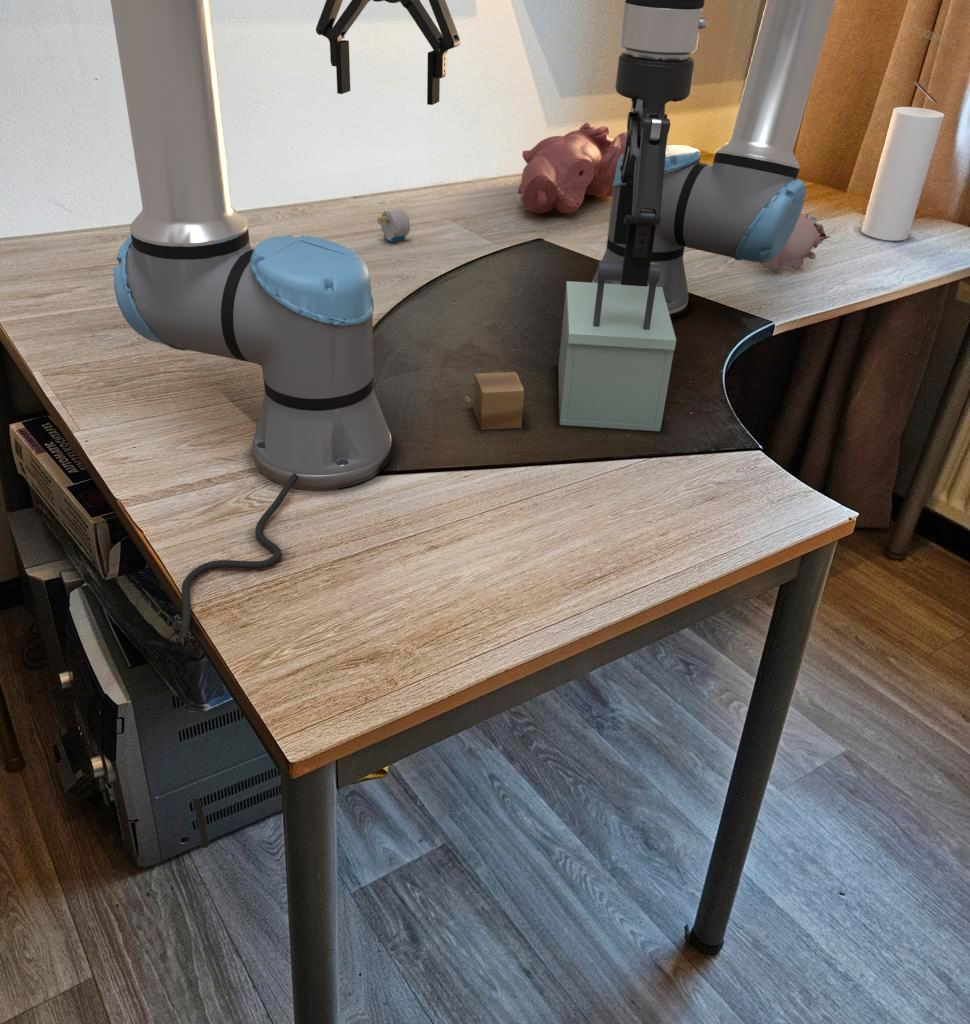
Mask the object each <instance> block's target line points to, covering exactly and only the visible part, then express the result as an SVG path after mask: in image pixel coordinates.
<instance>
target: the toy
mask: <svg viewBox="0 0 970 1024" xmlns="http://www.w3.org/2000/svg"><path fill="white" fill-rule="evenodd" d="M824 228H825V227H824V225H823V224H822V223H818V219H817V217H816V216H814V215H813V214H811V213H808V214H806V215H804V214H803V213H802V212H801V214H800V216H799V219H798V221H797V224H796V226H795V228H794V230H793V232H792V234H791V236H790V238H789V240H788V241H787V243H786V244H785V246H784V247H783V249H782V250H781V252H780V253H779V254H778V255H777V256H776V257H775V258H774V259H772V260H770V261H768V262H765V263H759V265H761V266H762V267H763V268H765V269H769V270H773V271H777V270H778V269H779V268H792V269H794V268H795V266H797V268H800V267H802V266H803V265H804V260H805V259H807V258H808V259H809V260H814V259H816V257H817V254H816V253H814V252H813V250H815V249H817V248H818V246H819V245H820V244H822V242H824V240H826V239H830V236H829V235H827V234H826V233H825V229H824Z"/></svg>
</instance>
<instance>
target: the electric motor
mask: <svg viewBox="0 0 970 1024" xmlns="http://www.w3.org/2000/svg"><path fill="white" fill-rule="evenodd" d="M376 222H377V224H378V225H380V227H381V231H382V233H383V238H384V240H385V241H388V242H389V243H394V242H395V243H396V242H399V241H404V240H405V238H406V236H407V235H409V233H410V229H411V222H410V218H409V216H408V213H407V212H406V210H404V209H403V208H397V209H392V210H387V211H384V212H383V213H382V214H381V216H378V217H377V218H376Z"/></svg>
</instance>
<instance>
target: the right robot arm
mask: <svg viewBox="0 0 970 1024" xmlns="http://www.w3.org/2000/svg"><path fill="white" fill-rule="evenodd" d="M836 1H837V0H766V2H765V6H764V10H763V14H762V17H761V22H760V26H759V29H758V33H757V37H756V40H755V44H754V48H753V52H752V56H751V60H750V64H749V67H748V72H747V75H746V79H745V83H744V86H743V90H742V94H741V97H740V102H739V106H738V109H737V114H736V117H735V121H734V124H733V129H732V133H731V135H730V136H731V137H730V139H729V140H728V142H726V143H725V144H723V145H722V146H721V147H719V148H717V149H716V151H715V154H714V157H713V162H712V164H711V163H706V162H705V163H704V162H701V161H700V160H701V159H702V157H701V151H700V150H699V149H698V148H697V147H693V146H690V145H684V144H667V143H668V136H669V132H670V128H671V120H670V118H668V114H666V104H667V103H670V102H674V103H675V102H681V101H685V100H687V99H688V98H689V97H690V94H691V91H692V84H693V77H694V71H695V64H696V62H695V61H694V58H693V57H691V56H690V54H693V53H695V52H696V51H697V49H698V43H699V36H700V33H699V32H698V31H699V30H704V29H706V28H707V24H708V20H707V18H705V17H702V15H703V8H704V6H705V0H625V1H624V5H623V13H622V21H621V29H620V38H619V45H620V47H621V48H623V49H624V51H623V52H622V53H621V54H620V55H619V56H618V60H617V68H616V69H617V72H616V76H615V77H616V79H615V87H614V89H615V91H616V93H617V94H618V95H620V96H622V97H624V98H627V99H630V101H631V108H630V111H629V112H628V114H627V121H626V122H627V123H626V129H627V130H626V132H627V133H626V142H625V148H624V153H623V154H622V155H621V157H620V158H619V160H618V163H617V168H616V173H615V179H614V181H613V194H612V196H611V204H610V213H609V222H608V230H607V231H608V232H607V241H606V249H605V252H604V255H602V256H603V257H602V258H601V260H610V261H624V262H623V269H622V277H621V281H607V280H605V283H604V284H620V285H630V286H645V287H647V286H649V283H648V277H649V270H650V263H659V264H660V267H661V270H660V279H659V282H658V283H657V284H656V287H662V289H663V293H664V296H665V300H666V304H667V308H668V311H669V315H670V319H671V320H672V319H674V318H677V317H679V316H681V315H683V314H684V313H685V312H686V311H687V309H688V303H689V288H688V287H689V286H688V282H687V275H686V269H685V263H684V253H685V248H689V249H693V250H698V251H702V252H707V253H711V254H715V255H719V256H722V257H723V256H724V257H728V258H731V259H732V258H733V259H734V260H735V261H747V262H752V263H757V264H758V263H759V264H760V263H765V262H768V261H770V260H772V259H774V258H775V257H776V256H777V255H778V254H779V253H780V252H781V250H782V249H783V247H784V246H785V244H786V243H787V241H788V240H789V238H790V236H791V234H792V232H793V230H794V228H795V226H796V224H797V221H798V219H799V216H800V214H801V213H802V210H803V208H804V204H805V199H806V194H807V186H806V184H805V182H803V181H802V180H801V179H798V176H799V173H800V167H801V165H800V164H799V161H798V160H797V158H796V156H795V154H794V148H795V145H796V141H797V137H798V134H799V131H800V127H801V124H802V120H803V116H804V113H805V110H806V106H807V102H808V99H809V96H810V92H811V88H812V86H813V82H814V78H815V74H816V71H817V67H818V64H819V61H820V57H821V54H822V50H823V46H824V43H825V39H826V35H827V32H828V28H829V25H830V21H831V18H832V16H833V15H832V14H833V11H834V7H835V4H836ZM591 283H598V280H597V271H596V272H595V273H594V276H593V278H592V280H591Z"/></svg>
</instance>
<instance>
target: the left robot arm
mask: <svg viewBox="0 0 970 1024" xmlns="http://www.w3.org/2000/svg"><path fill="white" fill-rule="evenodd" d="M343 1H344V0H325V3H324V5H323V8H322V11H321V13H320V16H319V19H318V22H317V24H316V27H315V33H316V34H317V35H318V36H323V37H324V38H326V39H327V40H328V42H329V54H330V56H329V57H330V65H331V67H335V70H336V71H335V72H336V94H339V95H343V94H346V93H349V92H351V67H350V66H351V63H350V41H349V40H345V38H346V36H345V35H347V33H348V31H349V30H350V29H351V27H352V26H353V24H354V23H355V21H356V20H357V19H358V18H359V16H360V14H361V13H362V12H363V10H364V9H365V8H366V6H367V5H368V4H369V3H370V2H371V1H372V2H377V3H380V2H384V1H385V2H387V3H389V4H398V3H400V4H401V5H402V7H403V8H405V9H406V10H407V12H408V13H409V15H410V17H411V18H412V20H413V21H414V22H415V24H416V26H417V27H418V29H419V31H420V32H421V33H422V35H423V36H424V38H425V39H426V40H427V43H428V44H429V46H430V47H431V48H432V50H431V51H428V52H427V74H426V75H427V79H426V80H427V85H426V87H427V88H426V105H429V106H433V105H435V104H438V103H440V93H441V92H440V91H441V90H440V89H441V87H440V86H441V83H440V81H441V79H443V78H445V77H446V74H447V54H448V51H449V50H451V49H454V48H457V47H459V46H460V45H461V42H462V41H461V38H460V35H459V33H458V30H457V27H456V24H455V22H454V19H453V17H452V14H451V11H450V9H449V7H448V4H447V1H446V0H428V2H429V5H430V8H431V10H432V13H433V15H434V18H435V21H436V23H437V25H438V26H437V25H436V23H435V22H434V20H433V19H432V17H431V15H429V13H428V11H427V9H426V8H425V6H424V5H423V3H422V2H421V0H351V1H350V2H349V3H348V5H347V6H346V8H345V9H344V11H343V12H342V14H341V15H340V16H339V18H338V19H337V17H338V14H339V12H340V9H341V6H342V4H343ZM110 6H111V12H112V19H113V20H112V21H113V27H114V31H115V39H116V45H117V52H118V59H119V64H120V70H121V77H122V84H123V90H124V96H125V97H124V98H125V103H126V110H127V116H128V122H129V123H128V124H129V129H130V136H131V142H132V149H133V156H134V161H135V169H136V175H137V180H138V187H139V194H140V199H141V206H142V210H141V211H140V212H139V214H138V215H137V216H136V217H135V218H134V220H133V221H132V222H131V224H130V225H129V232H130V236H128V237H127V238H126V239H125V240H124V241H123V243H122V244H121V246H120V247H119V249H118V252H117V256H116V260H117V261H118V265H117V266H114V268H113V288H114V294H115V298H116V302H117V305H118V307H119V310H120V312H121V315H122V316H123V318H124V319H125V321H126V323H127V324H128V325H129V327H130V328H131V329H133V331H134V332H136V333H137V334H138V335H139V336H141V337H143V338H144V339H145V340H148V341H150V342H154V343H157V344H161V345H164V346H167V347H169V348H171V349H174V350H178V351H191V352H197V353H202V354H207V355H211V356H216V357H222V358H226V359H231V360H236V361H242V362H248V363H251V364H252V363H253V364H257V365H259V366H261V370H262V379H263V388H264V390H263V391H264V396H263V400H262V404H261V408H260V412H259V415H258V419H257V423H256V427H255V430H254V434H253V438H252V442H251V443H252V445H251V446H252V455H253V460H254V464H255V467H256V468H257V470H258V471H259V472H260V473H261V474H262V475H263V476H265V477H266V478H268V479H269V480H271V481H273V482H275V483H278V484H280V485H283V488H282V489H281V490H280V492H279V493H278V494H277V497H276V498H275V500H273V502H272V504H271V505H270V506H269V507H268V509H267V510H266V511H265V512H264V513H263V514H262V515H261V517H260V518H259V520H258V521H257V523H256V526H255V531H254V532H255V538H256V539H257V540H258V542H259V543H260V544H261V545H262V546H264V547H265V548H267V549H268V550H270V551H271V552H272V553H273V555H272V556H271V557H269V558H267V559H264V560H256V561H255V560H254V561H253V560H251V561H249V560H235V559H234V560H233V559H224V560H223V559H217V560H211V561H208V562H204V563H202V564H201V565H198V566H197V567H196V568H194V569H193V570H192V571H190V572H189V573H188V575H187V576H186V577H185V578H184V580H183V582H182V585H181V599H182V600H181V601H182V603H181V606H182V608H181V609H182V610H181V613H182V614H181V624H180V630H179V638H180V639H186V638H187V637H189V634H190V628H191V617H192V600H191V586H192V584H193V582H194V581H195V580H196V579H197V578H198V577H200V576H201V575H202V574H204V573H206V572H208V571H211V570H214V569H241V570H242V569H243V570H244V569H245V570H260V569H261V570H262V569H267V568H270V567H272V566H274V565H275V564H277V563H278V562H279V561H280V559H281V558H282V550H281V548H280V546H278V545H277V544H275V543H274V542H273V541H272V540H270V539H268V537H266V535H264V528H265V526H266V524H267V522H268V521H269V519H270V518H271V517H272V516H273V515H274V513H276V511H277V510H278V509H279V507H280V506H281V504H282V503H283V502H284V500H285V498H286V497H287V495H288V494H289V492H290V491H291V489H292V488H295V489H301V490H312V491H314V490H315V491H323V490H327V491H328V490H337V489H342V488H348V487H351V486H355V485H358V484H361V483H363V482H366V481H368V480H370V479H373V478H374V477H375V476H377V475H378V474H380V473H381V472H382V471H383V470H384V469H385V468H386V467H387V466H388V464H389V463H390V461H391V458H392V434H391V431H390V430H389V427H388V424H387V422H386V419H385V417H384V413H383V411H382V408H381V406H380V403H379V400H378V398H377V395H376V393H375V385H374V320H373V319H374V318H373V317H374V315H373V314H374V308H375V301H374V297H373V292H372V283H371V275H370V270H369V267H368V266H367V264H366V263H365V262H364V260H363V259H362V258H361V257H360V256H359V254H357V253H356V252H355V251H353V250H352V249H351V248H348V247H346V246H345V245H343V244H340V243H338V242H335V241H331V240H329V239H324V238H322V237H317V236H310V235H300V236H299V237H296V236H293V235H288V234H287V235H279V236H273V237H269V238H265V239H264V240H262V241H260V242H259V243H258V244H257V245H255V247H254V248H253V247H251V242H250V241H251V240H250V233H249V223H248V220H247V219H246V218H245V216H243V215H242V214H240V213H239V212H238V211H237V210H236V209H234V207H233V206H232V203H231V194H230V185H229V183H230V182H229V175H228V174H229V173H228V165H227V156H226V155H227V154H226V146H225V137H224V129H223V128H224V127H223V118H222V117H223V115H222V106H221V97H220V88H219V78H218V67H217V59H216V57H217V56H216V49H215V40H214V30H213V29H214V28H213V21H212V20H213V19H212V11H211V2H210V0H110ZM336 19H337V21H336ZM192 802H193V808H194V811H195V812H194V813H195V818H196V823H197V828H198V834H199V840H200V847H201V848H203V849H206V848H208V847H209V844H210V842H209V836H208V830H207V823H206V818H205V813H204V808H203V803H202V802H203V801H202V800H201V799H198V798H193V797H192Z"/></svg>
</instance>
